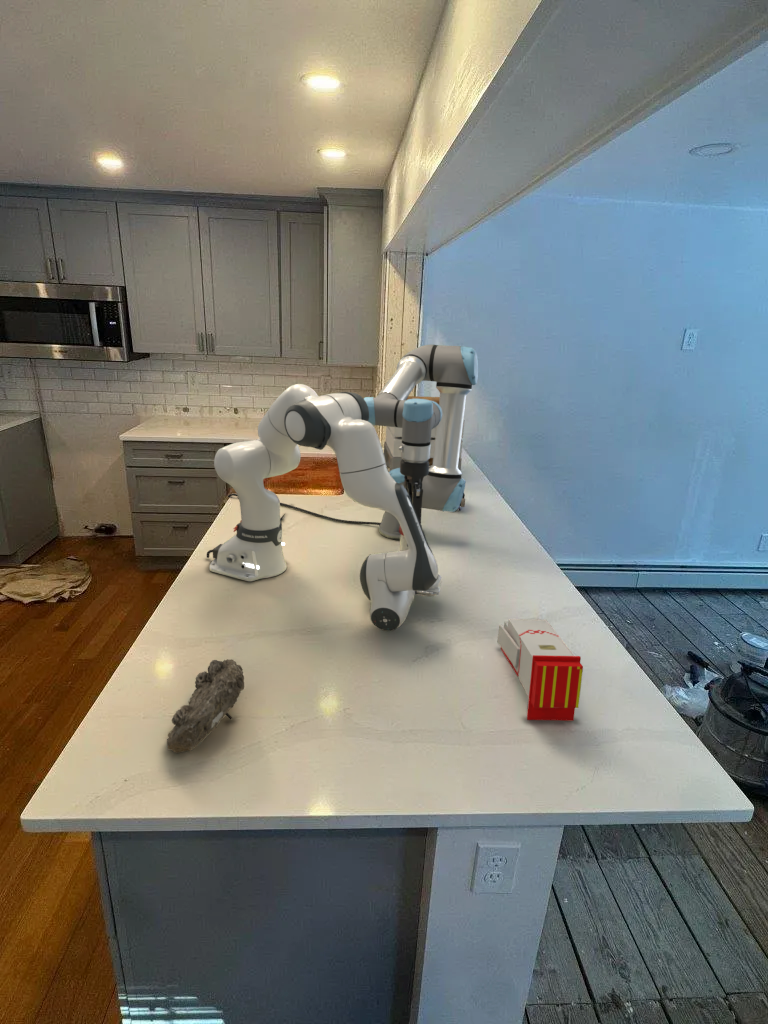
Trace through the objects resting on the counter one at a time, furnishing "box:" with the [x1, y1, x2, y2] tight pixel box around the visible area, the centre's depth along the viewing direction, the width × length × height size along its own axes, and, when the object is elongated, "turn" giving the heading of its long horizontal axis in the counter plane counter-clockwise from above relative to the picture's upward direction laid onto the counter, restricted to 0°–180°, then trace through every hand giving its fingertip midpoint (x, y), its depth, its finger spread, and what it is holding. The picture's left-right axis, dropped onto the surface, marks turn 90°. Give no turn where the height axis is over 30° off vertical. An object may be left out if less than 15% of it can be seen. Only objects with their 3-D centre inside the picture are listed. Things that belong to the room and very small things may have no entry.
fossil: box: [166, 658, 245, 754], centre depth 106 cm, size 22×10×15 cm
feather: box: [280, 513, 286, 523], centre depth 210 cm, size 2×28×2 cm
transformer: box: [383, 395, 465, 472], centre depth 268 cm, size 34×33×41 cm
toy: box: [497, 618, 584, 722], centre depth 122 cm, size 12×13×30 cm
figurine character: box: [457, 492, 466, 511], centre depth 229 cm, size 7×8×15 cm
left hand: (408, 568), depth 160 cm, fingers closed on jar, 5 cm apart
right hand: (409, 540), depth 156 cm, fingers closed on lid, 6 cm apart
